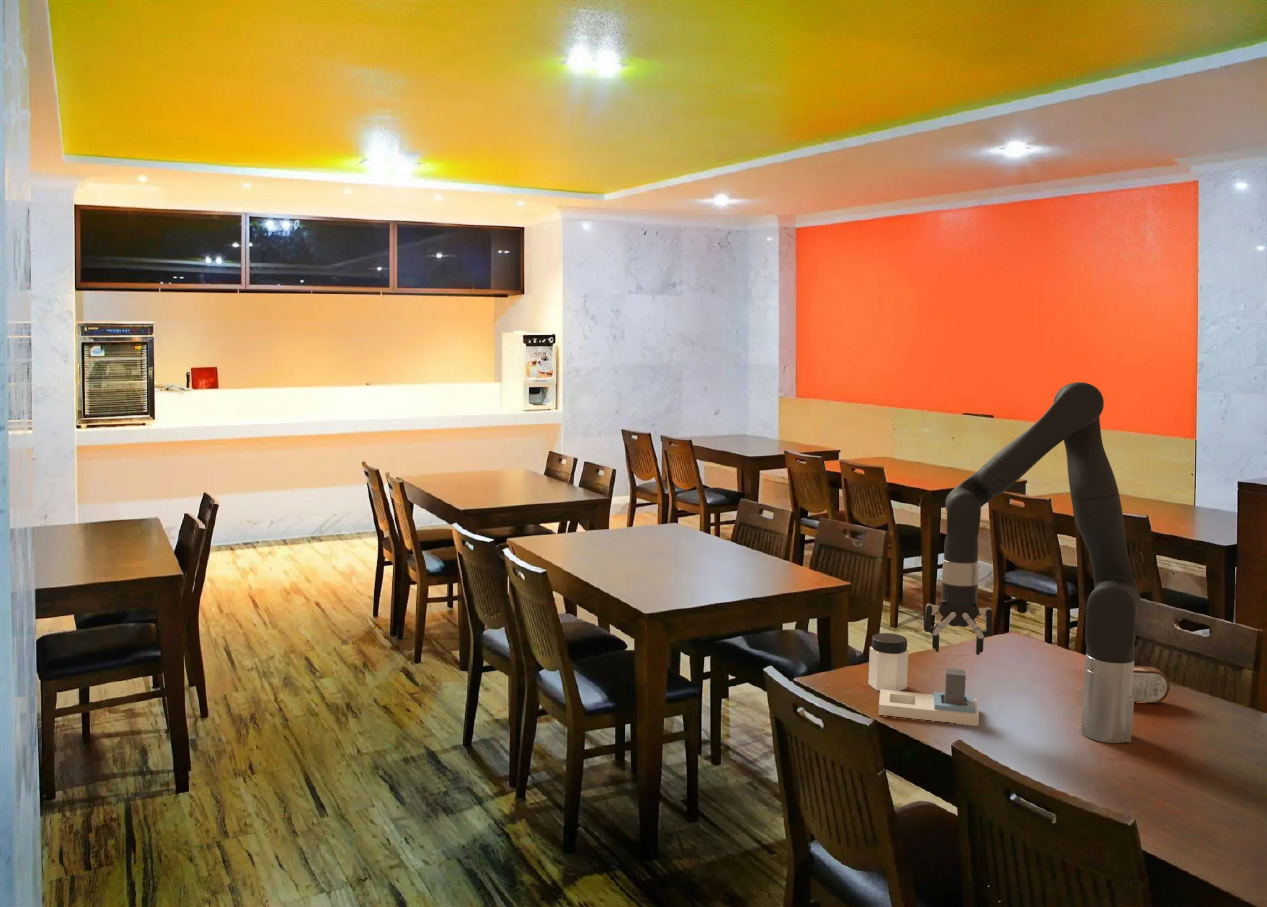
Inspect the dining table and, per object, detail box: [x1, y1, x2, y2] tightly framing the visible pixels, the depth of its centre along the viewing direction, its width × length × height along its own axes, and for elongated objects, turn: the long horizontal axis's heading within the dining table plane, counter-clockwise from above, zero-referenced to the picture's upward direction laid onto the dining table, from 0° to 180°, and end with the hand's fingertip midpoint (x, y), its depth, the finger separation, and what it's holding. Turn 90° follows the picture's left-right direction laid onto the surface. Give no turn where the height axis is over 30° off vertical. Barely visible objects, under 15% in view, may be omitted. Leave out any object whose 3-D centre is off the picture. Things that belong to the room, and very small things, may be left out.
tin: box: [1132, 665, 1171, 704], centre depth 235 cm, size 15×3×8 cm, turn 84°
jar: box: [868, 632, 909, 692], centre depth 244 cm, size 9×8×12 cm
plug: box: [944, 667, 967, 705], centre depth 226 cm, size 4×4×10 cm
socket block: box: [878, 689, 980, 727], centre depth 228 cm, size 21×10×4 cm, turn 75°
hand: (957, 652), depth 225 cm, fingers open, 8 cm apart
